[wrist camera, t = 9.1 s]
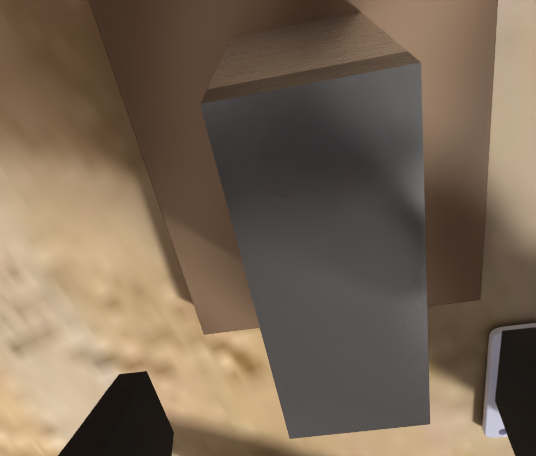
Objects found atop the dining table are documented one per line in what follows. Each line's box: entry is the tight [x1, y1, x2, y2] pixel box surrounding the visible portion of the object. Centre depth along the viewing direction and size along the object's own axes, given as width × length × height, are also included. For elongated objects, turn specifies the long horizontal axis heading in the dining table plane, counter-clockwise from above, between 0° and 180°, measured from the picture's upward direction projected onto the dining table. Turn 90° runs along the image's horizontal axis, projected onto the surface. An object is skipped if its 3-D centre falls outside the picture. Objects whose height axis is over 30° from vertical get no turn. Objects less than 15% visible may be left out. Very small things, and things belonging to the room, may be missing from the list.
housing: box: [200, 12, 430, 439], centre depth 14 cm, size 4×10×7 cm, turn 11°
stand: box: [89, 0, 498, 335], centre depth 18 cm, size 12×14×2 cm
